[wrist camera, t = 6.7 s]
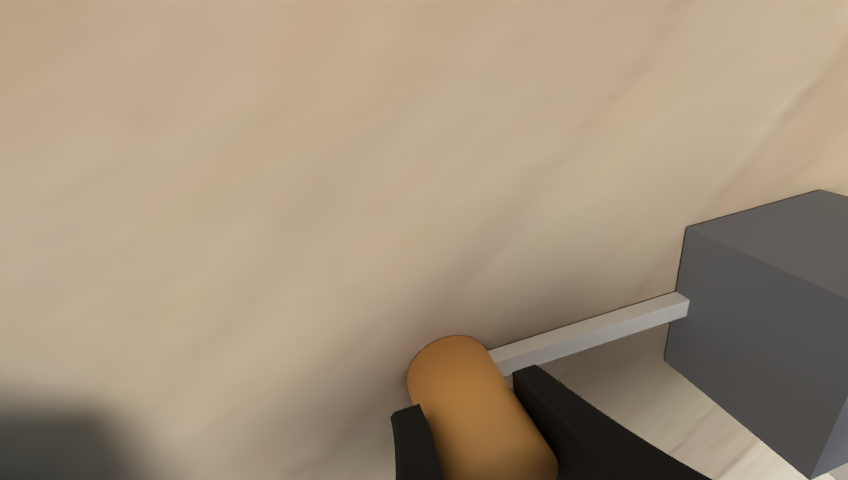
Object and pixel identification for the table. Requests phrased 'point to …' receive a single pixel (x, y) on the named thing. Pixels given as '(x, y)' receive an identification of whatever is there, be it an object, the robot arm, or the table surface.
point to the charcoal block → (683, 347)
